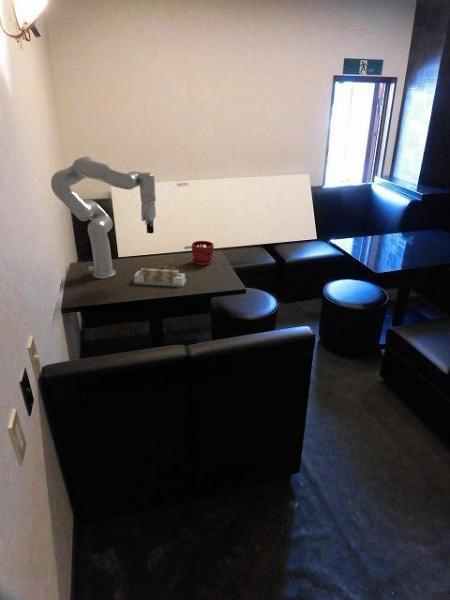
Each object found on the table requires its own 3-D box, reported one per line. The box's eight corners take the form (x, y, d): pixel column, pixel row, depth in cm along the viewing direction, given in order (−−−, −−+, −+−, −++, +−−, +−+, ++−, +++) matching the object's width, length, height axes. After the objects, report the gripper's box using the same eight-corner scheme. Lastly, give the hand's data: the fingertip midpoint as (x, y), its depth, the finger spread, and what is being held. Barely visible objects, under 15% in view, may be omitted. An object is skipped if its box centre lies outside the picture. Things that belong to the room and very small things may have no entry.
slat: (141, 280, 219) (140, 269, 216) (142, 278, 221) (141, 268, 218) (177, 282, 216) (177, 271, 214) (178, 280, 218) (178, 270, 216)
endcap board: (133, 283, 217) (132, 275, 215) (138, 278, 224) (137, 270, 222) (182, 286, 213) (182, 278, 212) (186, 280, 221) (186, 273, 219)
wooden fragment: (180, 275, 229) (180, 273, 229) (160, 275, 228) (160, 273, 228) (181, 259, 252) (181, 258, 252) (163, 260, 252) (163, 258, 251)
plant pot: (193, 267, 240) (193, 247, 235) (191, 259, 252) (190, 241, 247) (215, 265, 242) (215, 246, 237) (211, 258, 254) (211, 239, 249)
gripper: (145, 194, 215) (148, 228, 223) (136, 200, 202) (138, 236, 210) (159, 195, 214) (161, 229, 222) (150, 201, 201) (152, 237, 209)
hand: (150, 232), depth 216 cm, fingers closed
